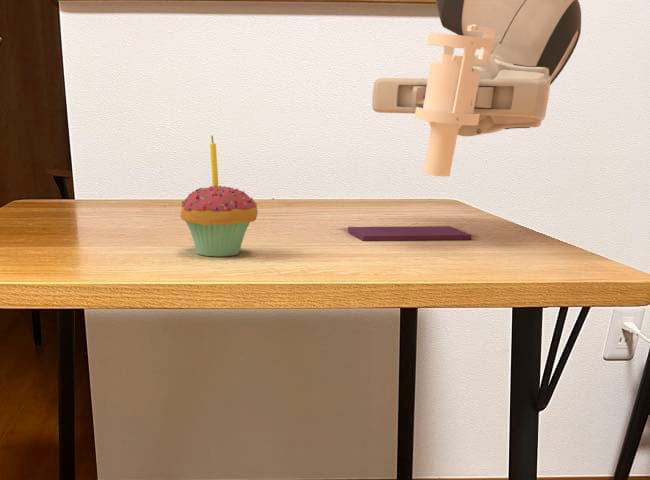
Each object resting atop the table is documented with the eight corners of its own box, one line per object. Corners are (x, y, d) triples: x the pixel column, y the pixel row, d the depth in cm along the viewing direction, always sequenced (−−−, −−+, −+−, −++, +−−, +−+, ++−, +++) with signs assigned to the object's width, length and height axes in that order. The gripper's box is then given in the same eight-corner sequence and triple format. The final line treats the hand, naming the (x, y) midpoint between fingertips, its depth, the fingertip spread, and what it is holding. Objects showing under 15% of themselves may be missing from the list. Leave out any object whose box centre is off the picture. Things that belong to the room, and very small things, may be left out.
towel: (449, 230, 117) (450, 226, 117) (471, 239, 110) (471, 234, 110) (347, 231, 116) (348, 226, 115) (363, 240, 109) (363, 235, 108)
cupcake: (170, 249, 101) (167, 134, 95) (237, 245, 104) (238, 134, 98) (198, 261, 94) (197, 138, 88) (270, 257, 97) (273, 138, 91)
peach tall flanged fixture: (476, 181, 98) (507, 27, 91) (416, 176, 97) (443, 20, 90) (454, 172, 104) (482, 26, 97) (398, 167, 103) (421, 20, 96)
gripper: (395, 66, 110) (355, 64, 99) (563, 67, 102) (540, 64, 91) (390, 122, 113) (351, 125, 102) (553, 127, 105) (530, 131, 94)
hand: (441, 97), depth 96 cm, fingers closed on peach tall flanged fixture, 4 cm apart
